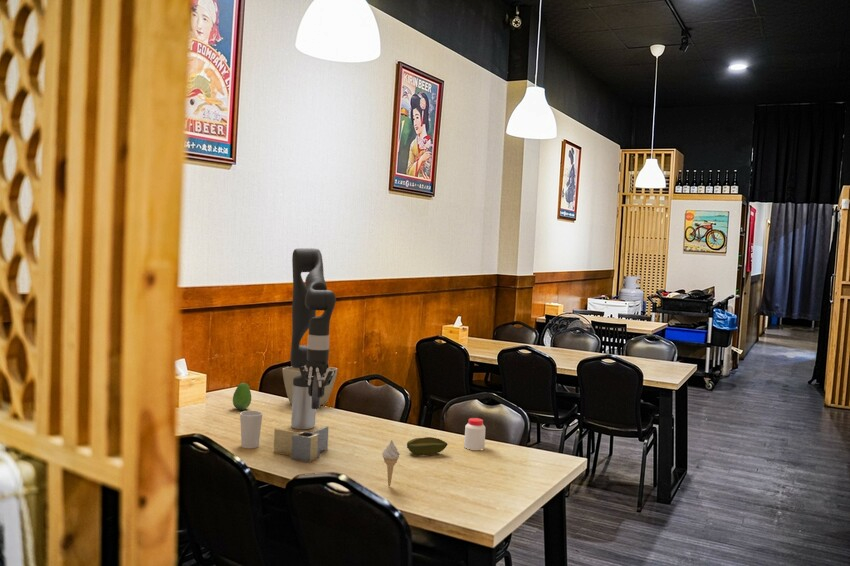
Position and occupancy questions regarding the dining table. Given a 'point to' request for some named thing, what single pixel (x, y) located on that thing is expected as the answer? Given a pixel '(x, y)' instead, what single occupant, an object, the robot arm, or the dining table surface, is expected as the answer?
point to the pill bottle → (475, 434)
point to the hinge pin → (315, 393)
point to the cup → (250, 428)
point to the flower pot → (291, 373)
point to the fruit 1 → (242, 396)
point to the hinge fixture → (301, 443)
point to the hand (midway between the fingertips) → (315, 396)
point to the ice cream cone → (390, 459)
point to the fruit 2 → (426, 446)
